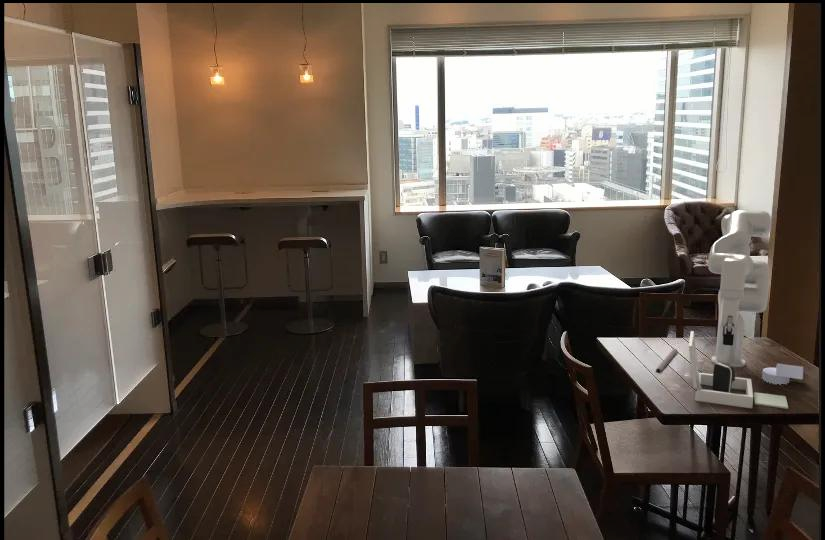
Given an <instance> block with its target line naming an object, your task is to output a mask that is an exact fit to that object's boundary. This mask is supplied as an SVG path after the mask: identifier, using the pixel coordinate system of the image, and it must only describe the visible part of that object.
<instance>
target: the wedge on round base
mask: <svg viewBox="0 0 825 540" xmlns="http://www.w3.org/2000/svg"><path fill="white" fill-rule="evenodd" d="M761 372H762V373H761V379H763V380H764V381H763V380H762V381H763V382H765V381H766V383H768V382H769V383H768V384H771V383H772V384H771V385H777V384H779V385H780V386H782V385H781V384H785V385H788V384H789V383H790V378H791V379H796V380H803V379H804V366H800V365H792V364H785V363H776V366H775V367H765V368H762V371H761ZM787 383H788V384H787Z"/></svg>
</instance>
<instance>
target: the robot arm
mask: <svg viewBox="0 0 825 540" xmlns="http://www.w3.org/2000/svg"><path fill="white" fill-rule="evenodd" d="M720 223H721V224H720V225H721V226H720V227H721V228H720V229H721V232H722V236H721V237H720V238H719V239H717V240H716V241H715V242H714V243H713V244H712V246H711V247H710V251H709V256H708V260H707V261H708V262H707V266H708V268H707V269H708V270H709V271H710V272H711V273H713V274H716V275H720V285H719V286H720V288H719V290H718V294H717V301H718V321H717V322H718V324H717V335H716V348H715V355H712V356H711V359H710V361H711V362H712V363H713V364H714V365H716V364H717V363H724V364H727V365H730V366H732V367H734V368H735V369H736V368H742V367H744V366H746V363H747V362H746V360H745V359H744V358H743V348H744V338H745V325H746V324H745V323H746V322H745V319H744V317H743V316H742V314H741V313H740V312H745V313H747V312H748V313H757V314H758V313H763V312H765V311H766V309H767V308H768V303H769V302H768V300H769V290H770V289H769V288H770V287H769V286H770V273H771V271H770V270H771V269H770V265H769V264H768V263H767V262H765V261H762V260H753V259H752V257H751V254H750V253H751V248H750V244H751V242H752V241H751V240H752V237H755V238H765V237H766V238H767V237H768V235H769V234H770V233H771V231H772V230H771V228H772V216H771V215H770V213H769V212H768V211H764V210H749V209H747V210H744V209H741V210H735V211H732V212H731V213H730V214H726V215H724V216H723V217H722V219H721V222H720ZM745 285H753V286H755V287H747V286H745Z"/></svg>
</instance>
